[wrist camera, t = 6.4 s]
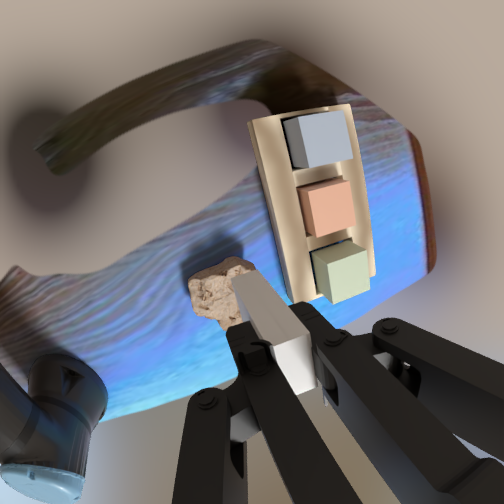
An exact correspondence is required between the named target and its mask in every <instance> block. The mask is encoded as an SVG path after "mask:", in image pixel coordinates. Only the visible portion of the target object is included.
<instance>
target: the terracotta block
mask: <svg viewBox="0 0 504 504" xmlns="http://www.w3.org/2000/svg"><path fill="white" fill-rule="evenodd" d="M296 190H297V195H298V200H299V204H300V209H301V214H302V219H303V224H304V229H305V231H306V232H308V233H310V234H311V235H313V236H315V237H316V238H318V237H321V236H324V235H327V234H330V233H333V232H336V231H339V230H342V229H345V228H349V227H352V226H355V225H356V219H355V212H354V206H353V199H352V193H351V187H350V181H347V180H341V179H335V178H329V179H325V180H321V181H317V182H313V183H309V184H305V185H302V186H298V187H296Z"/></svg>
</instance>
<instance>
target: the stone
mask: <svg viewBox="0 0 504 504" xmlns="http://www.w3.org/2000/svg"><path fill="white" fill-rule="evenodd" d="M254 270H256V269H255V266H254V264H253V263H251V262H249V261H247V260H243V259H241V258H239V257H236V256H232V257H228V258H226V259H225V260H224V261H223V262H221V263H220V264H218V265H215V266H212V267H209V268H206V269H204V270H202V271H199V272H197V273H195V274H194V275H193V276H191V277H190V278H189V279H188V288H189V291H190V297H191V302H192V307H193V311H194V312H195V314H196V315H197V316H205V318H208V319H216V320H217V321H218V323H219V324H220V326H221V328H222V329H223V330H225V331H227V329H228V327H231V326H234V325H237V324H240V323H243V321H242V317H241V314H240V310H239V307H238V304H237V300H236V297H235V293H234V290H233V286H232V283H231V279H230V278H232V277H235V276H238V275H242V274H245V273H248V272H251V271H254Z"/></svg>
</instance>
